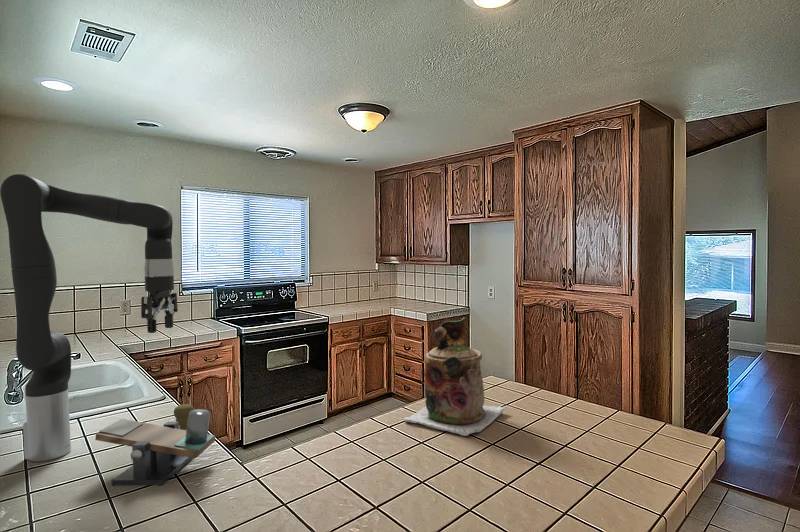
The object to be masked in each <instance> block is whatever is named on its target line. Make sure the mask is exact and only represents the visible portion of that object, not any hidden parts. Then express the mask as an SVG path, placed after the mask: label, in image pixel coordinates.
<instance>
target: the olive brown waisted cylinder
mask: <svg viewBox="0 0 800 532" xmlns="http://www.w3.org/2000/svg"><path fill="white" fill-rule="evenodd" d="M192 410H195V407H194V406H193V405H192V404H191V403H190V404H189V403H184V404H182V403H181V404H179V405H177V406H176V407H174V410H173V415H174V417H175V422H179V425H180V429H181V430H187V423H188V416H189V412H190V411H192Z"/></svg>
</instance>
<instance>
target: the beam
mask: <svg viewBox="0 0 800 532" xmlns="http://www.w3.org/2000/svg"><path fill="white" fill-rule="evenodd" d="M185 437H186V430H181V429H176V428H170V427H165V426H163V425H158V424H153V423H147V422H143V421H142V422H141V421H136V420H131V419H125V418H122V419H121V418H120V419H118V420H116V421H114V422H113V423H111V424H110V425H108V426H105V427H104V428H103V429H100V430H99V431H98V432H97V433H95V439H94V440H95V441H100V442H105V443H109V444H115V445H120V446H126V447H130V448H132V445H133V444H135V443H136V442H150V450H153V451H158V452H163V453H169V454H174V455H180V456H185V457H191V458H192V459H197V458H198V457H199V456H200V455H201V454H202V453H204V452H205V451H206V450H207V449H208V448H209V447H210V446H211V445H212V444H213V443H215V442H216V435H214V434H209V433H208V435H207V441H206V442H205V443H203V444H199V445H191V444H188V443H186V442H185Z"/></svg>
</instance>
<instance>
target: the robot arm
mask: <svg viewBox="0 0 800 532" xmlns="http://www.w3.org/2000/svg"><path fill="white" fill-rule="evenodd" d="M0 198H1V199H0V200H1V204H2V207H3V212H4V216H5V218H6V224H7V229H8V242H9V243H8V244H9V255H10V268H11V270H10V271H11V276H12V277H11V278H12V285H13V292H14V304H15V305H14V306H15V313H16V340H15V342H16V343H15V345H16V347H15V350H16V358H17V360H18V362H19V364H20V365H21V366H22V368H24V369H26V370H28V371H33V372H32V374H31V375H32V376H31V377H30V379H29V380H28V382H27V383H26V384H25V388H24V389H25V390H24V394H25V409H26V410H25V413H26V414H25V418H26V422H24V423H23V424H22V431H23V452H24V460H28V461H30V462H45V461H50V460H54V459H57V458H61V457H63V456H65V455H68V454H69V453H70V452H71V450H72V446H71V445H72V444H71V422H70V420H71V419H70V401H69V400H70V399H69V382H70V379H71V375H72V348H71V343H70V340H69V339H68V337H67V336H66V335H65V334H64V333H62V332H59V331H55V330H51V326H50V317H49V316H50V311H51V306H52V303H53V299H54V298H55V294H56V290H57V285H58V284H57V282H58V281H57V268H56V267H57V266H56V261H55V257H54V254H53V251H52V249H51V246H50V244H49V242H48V240H47V237H46V235H45V231H44V228H43V227H44V226H43V222H42V221H43V219H42V218H43V217H42V212H43V213H58V214H59V213H60V214H69V215H76V216H80V217H84V218H85V217H86V218H89V219H94V220H98V221H103V222H108V223H113V224H120V225H133V226H136V227H141V228H146V241H145V245H144V259H145V261H144V290H145V292H148V293H149V295H148V296H141V298H140V301H141V302H140V306H141V308H140V313H141V314H140V315H141V316H140V317H141V319H145V320H146V325H147V329H146V330H147V333H149V334H154V333H157V318H158V317H157V316H158V314H159V313H160V312H161V311H162V312H163V314H164V328H166V329H172V328H173V327H174V315H175V313H178V294H177V292H171V291H174V290H175V279H174V277H175V275H174V273H175V271H174V269H175V268H174V261H173V245H172V238H173V237H172V236H173V224H174V223H173V215H172V214H171V212H170V211H169V210H168V209H167V208H165V206H162V205H159V204H154V203H147V202H146V203H145V202H138V201H137V202H136V201H131V200H128V199H124V198H120V197H119V198H118V197H114V196H107V195H103V194H102V195H101V194H92V193H83V192H81V193H80V192H75V191H69V190H67V189H62V188H59V187H56V186H53V185H50V184H48V183H45V182H43V181H42V180H39V179H37V178H36V177H32V176H31V175H28V174H24V173H23V174H22V173H15V174H12V175H9V176H8V177H6V178H5V179H4V180H3V181H2V183H1V186H0Z"/></svg>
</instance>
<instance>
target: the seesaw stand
mask: <svg viewBox="0 0 800 532" xmlns="http://www.w3.org/2000/svg"><path fill="white" fill-rule="evenodd" d="M162 426H165V427H170V428H176V429H180V425H179V422H176V421H166V422H165V423H164V424H163V425H162ZM131 450H132V452H131V453H130V458H131V460H132V465H131V466H129V467H128V468H127V469H125V470H124V471H122V472H121V473H120V474H119V475H117V476H115V478H113V479H112V480H111V485H112V486H163V485H165V483H167V482H169V480H170V479H171V478H172V477H174V476H175V474H177V473H178V472H179V471H180V470H181V469H182V468H184V467H185V466H186V465H187V464H188V463H189V462H190V461H192V459H193V458H191V457H185V456H180V455H174V454H169V453H163V452H158V451H153V450H150V442H136V443H135V444H133V445H132V447H131Z"/></svg>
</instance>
